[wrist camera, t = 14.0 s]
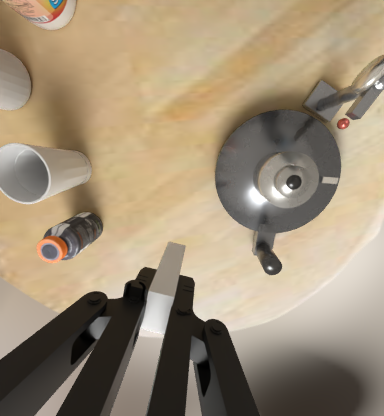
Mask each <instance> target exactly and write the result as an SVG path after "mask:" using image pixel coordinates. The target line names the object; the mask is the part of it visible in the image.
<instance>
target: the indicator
mask: <svg viewBox="0 0 384 416" xmlns="http://www.w3.org/2000/svg"><path fill="white" fill-rule="evenodd" d="M382 90H384V55H381V56H379V57H377V58H376V59H374V60H373V61H372V62H371V63H369V64H368V65H367V66H366V67H365V68H364V69H363V70H362V71H361V72H360V73H359V75H358V76H357V77H356V78H355V80H354V81H353V83H352V85H351V86H349V87H347V88H344V89H342V90H340V91H337V90H335V89H334V88H332V87H331V86H330V85H328V84H327V83H325V82H324V81H323V80H321V81H319V82H318V83H317V85H316V86H315V88H314V89H313V91H312V92H311V93H310V95H309V96H308V98H307V99H306V101H305V102H304V103H303V105H302V106H303V107H305V108H306V109H308V110H309V111H310V112H312V113H313V114H315V115H316V116H318V117H319V118H321V119H322V120H323V121H325V122H326V123H327V122H330V121H331V120H332V118H333V117H334V116H335V114H336V113H337V112H338V110H339V109H340V108H341V106H342V105H343V104H344V103H347V102H349V101H352V100H355V99H356V100H355V102H354V103H353V104H352V106H351V107H350V108H349V110H348V111H347V112H346V114H345V115H347V116H348V117H350V118H351V119H352V120H356V119H361V117H362V116H363V115H364V114H365V112H366V111H367V110H368V108H369V107H370V106H371V105H372V103H373V102H374V101H375V99H376V98H377V97H378V96H379V94H380V93H381V92H382ZM349 124H350V122H349V120H348V119H347V118H343V119H340V120H339V121H338V123H337V127H338V128H339V129H345V128H347V127H348V126H349Z"/></svg>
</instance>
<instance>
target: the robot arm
mask: <svg viewBox="0 0 384 416" xmlns="http://www.w3.org/2000/svg"><path fill="white" fill-rule="evenodd" d="M185 247H186V246H185V245H181V244H177V243H173V242H168V245H167V247H166V249H165V252H164V254H163V257H162V259H161V262H160V264H159V266H158V269H157V270H156V269H152V268H148V267H144V268H143V269H141V270H140V272H139V274H138V276H137V277H136V279H135V280H131V281H128V282H127V283H126V284H125V288H124V294H123V297H122V298H118V299H108V298H107V296H106V294H104V293H103V292H99V291H94V292H90V293H87V294H86V295H84V296H83V297H81V298H80V299H79V300H78V301H76V302H75V303H74V304H72V305H71V306H70V307H68V308H67V309H66V310H65V311H63V312H62V313H61V314H59V315H58V316H57V317H56V318H54V319H53V320H52V321H50V322H49V323H48V324H46V325H45V326H44V327H42V328H41V329H40V330H38V331H37V332H36V333H35V334H33V335H32V336H31V337H29V338H28V339H27V340H25V341H24V342H23V343H22V344H20V345H19V346H18V347H16V348H15V349H14V350H13V351H11V352H10V353H8V354H7V355H6V356H5V357H3V358H2V359H1V360H0V416H34V415H35V414H36V413H37V412H38V411H39V410H40V409H41V407H42V406H43V405H44V404H45V403H46V402H47V401H48V400H49V398H50V397H51V396H52V395H53V394H54V393H55V392H56V390H57V389H58V388H59V387H60V386H61V385H62V384H63V383H64V381H65V380H66V379H67V378H68V377H69V376H70V374H71V373H72V372H73V371H74V370H75V369H76V368H77V367H78V365H79V364H80V363H81V362H82V361H83V360H84V359H85V358H86V356H87V355H88V354H89V353H90V352H91V351H92V350H93V351H92V352H91V354H90V356H89V358H88V360H87V361H86V363H85V365H84V367H83V368H82V370H81V372H80V374H79V375H78V377H77V379H76V381H75V383H74V385H73V386H72V388H71V390H70V392H69V393H68V395H67V397H66V399H65V400H64V402H63V404H62V406H61V407H60V410H59V411H58V413H57V415H56V416H110V413H111V410H112V407H113V405H114V402H115V399H116V396H117V394H118V391H119V388H120V385H121V383H122V380H123V377H124V374H125V372H126V369H127V366H128V363H129V361H130V358H131V355H132V352H133V350H134V347H135V344H136V341H137V339H138V335H139V330H140V327H141V329H143V330H147V331H151V332H156V333H160V334H164V339H163V343H162V348H161V351H160V356H159V360H158V365H157V369H156V373H155V378H154V382H153V386H152V390H151V395H150V399H149V403H148V408H147V413H146V416H185V408H186V395H187V384H188V372H189V360H190V359H191V360H192V361H193V365H194V370H195V377H196V382H197V388H198V395H199V400H200V406H201V412H202V416H260V415H259V412H258V409H257V407H256V404H255V402H254V399H253V396H252V394H251V391H250V389H249V386H248V383H247V380H246V378H245V375H244V372H243V369H242V367H241V364H240V361H239V359H238V356H237V354H236V351H235V348H234V345H233V343H232V340H231V338H230V335H229V332H228V330H227V328H226V326H225V325H224V324H223V323H222V322H220V321H219V320H216V319H209V320H207V321H206V322H204V321H203V320H201V319H199V318H198V317H197V316H196V315H195V314H194V312H193V297H194V286H195V282H194V280H193V278H191V277H187V276H182V275H179V274H180V270H181V265H182V261H183V256H184V251H185Z"/></svg>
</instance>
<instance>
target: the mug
mask: <svg viewBox="0 0 384 416" xmlns="http://www.w3.org/2000/svg"><path fill="white" fill-rule="evenodd" d="M30 93H31V80H30V76H29V73H28V71H27V69H26V67H25V66H24V65H23V63H22V62H21V61H20V60H19V59H18V58H17V57H15V56H14V55H13V54H11V53H9V52H7V51H5V50H3V49H0V109H4V110H16V109H19V108H21V107H22V106H23V105H24V104H26V102H27V101H28V99H29V97H30Z"/></svg>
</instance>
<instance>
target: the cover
mask: <svg viewBox="0 0 384 416" xmlns="http://www.w3.org/2000/svg"><path fill="white" fill-rule="evenodd" d="M318 182H319V172H318V168H317V166H316V164H315V162H314V161H313V160H312V159H311V158H310V157H309V156H307V155H305V154H303V153H300V152H274V153H271V154H268V155H267V156H265V157H264V158H262V159H261V160H260V161H259V163H258V164H257V166H256V167H255V170H254V173H253V184H254V187H255V189H256V191H257V192H258V193H259V194H260V195H261V196H262V197H263V198H265V199H266V200H267V201H268V202H270V203H271V204H273V205H275V206H277V207H280V208H293V207H297V206H299V205H302V204H303V203H305V202H306V201H307V200H309V199H310V198H311V196H312V195H313V194H314V192H315V191H316V188H317V186H318Z"/></svg>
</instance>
